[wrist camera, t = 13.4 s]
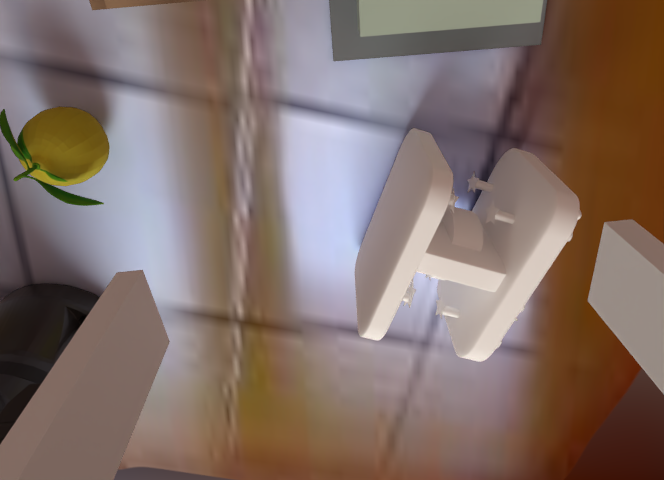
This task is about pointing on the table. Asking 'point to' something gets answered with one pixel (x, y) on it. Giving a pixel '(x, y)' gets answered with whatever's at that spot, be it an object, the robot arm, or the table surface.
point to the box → (129, 3)
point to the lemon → (60, 150)
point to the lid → (441, 15)
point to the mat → (422, 37)
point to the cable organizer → (462, 243)
